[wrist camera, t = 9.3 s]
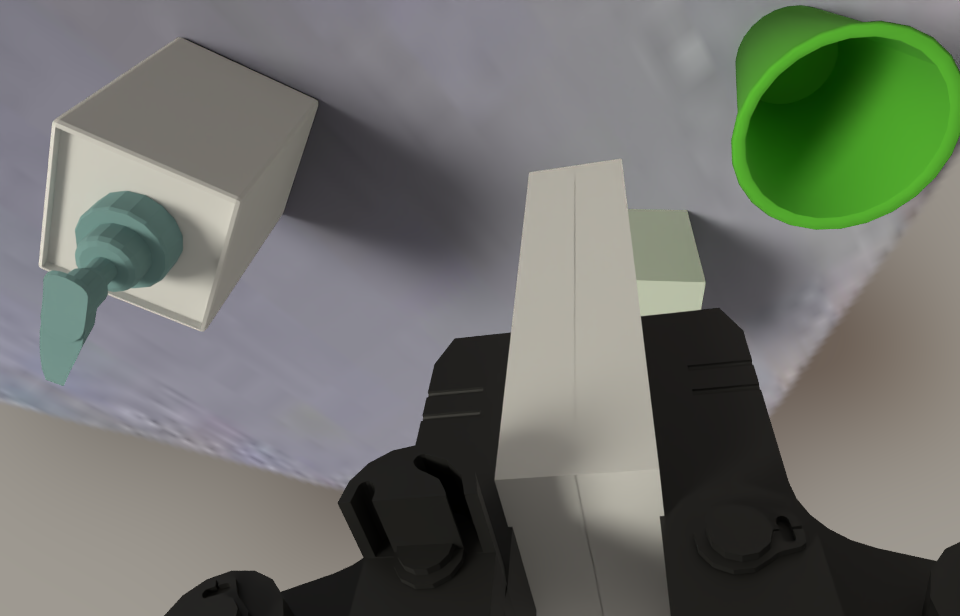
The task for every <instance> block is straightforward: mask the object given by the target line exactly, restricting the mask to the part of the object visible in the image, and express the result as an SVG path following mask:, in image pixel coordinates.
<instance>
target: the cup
mask: <svg viewBox="0 0 960 616" xmlns="http://www.w3.org/2000/svg"><path fill="white" fill-rule="evenodd" d="M736 86H737V108H738V114H737V117H736V122H735V126H734V130H733V135H732V139H731V145H732V164H733V167H734V170H735V173H736V176H737V180H738V183H739V185H740V186H741V188H742V189H743V191H744V192H745V193H746V195H747V196H748V198H749V199H750V201H751V202H752V203H753V204H755V205H756V206H757V207H758V208H760V209H761V210H762V211H763V212H765V213H766V214H767V215H768V216H770V217H773V218H775V219H777V220H780V221H782V222H784V223H787V224H789V225H793V226H799V227H804V228H810V229H816V230H817V229H842V228H846V227H850V226H855V225H859V224H863V223H867V222H870V221H872V220H874V219H877V218H879V217H881V216H884V215H886V214H888V213H891V212H893V211H894V210H896V209H897V208H899V207H900V206H902V205H903V204H905V203H906V202H908V201H909V200H911V199H912V198H914V197H916V196H917V195H918V194H919V193H920V192H921V191H922V190H923V189H924V188H925V187H926V186H927V185H928V184H929V183H930V182H931V181H932V180H933V179H934V178H935V177H936V176H937V175H938V173H939V172H940V170H941V169H942V168H943V166H944V165H945V163H946V162H947V161H948V159H949V158H950V156H951V155H952V153H953V150H954V148H955V145H956V143H957V141H958V138H959V136H960V71H959V69H958V67H957V65H956V63H955V61H954V59H953V57H952V55H951V54H950V53H949V52H948V51H947V50H946V49H945V48H944V47H942V46H941V45H940V44H939V43H938V42H937V41H936V40H935V39H934V38H933V37H931V36H929V35H927V34H925V33H923V32H921V31H919V30H917V29H915V28H913V27H911V26H907V25H901V24H896V23H890V22H884V21H873V22H861V21H858V20H854V19H851V18H847V17H844V16H841V15H837V14H834V13H830V12H827V11H824V10H820V9H817V8H813V7H808V6H802V5H799V6H787V7H784V8H781V9H778V10H775V11H773V12H771V13H769V14H768V15H766V16H764V17H762V18H761V19H760V20H759V21H758V22H757V23H756V24H754V25H753V26H752V27H751V29H750V30H749V31H748V32H747V34H746V35H745V36H744V38H743V40H742V42H741V44H740V46H739V49H738V52H737V57H736Z"/></svg>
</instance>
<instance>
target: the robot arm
mask: <svg viewBox="0 0 960 616" xmlns="http://www.w3.org/2000/svg"><path fill="white" fill-rule="evenodd" d="M428 394H429V397H427V399H426V403H425V407H424V411H423V421H421V424H420V428H419V432H418V437H417V441H416V445H415V446H411V447H407V448H402V449H398V450H393V451H391V452H389V453H387V454H385V455H383V456H382V457H380V458H378V459H376V460H374V461H372V462H370V463H368V464H367V465H366V466H365V467H364V468H363V469H362V470H361V471H360V472H359V473H358V474H357V475H356V476H355V477H353V478H352V479H351V480H350V481H349V483H348V485H347V487H346V488H345V490H344V492H343V494H342V496H341V498H340V500H339V501H338V505H339V507H340V509H341V511H342V513H343V515H344V517H345V519H346V521H347V523H348V525H349V528H350V530H351V532H352V534H353V536H354V538H355V540H356V542H357V544H358V547H359V549H360V551H361V553H362V555H363V557H364V558H363V559H361V560H360V561H358V562H357V563H355V564H354V565H352V566H350V567H348V568H345V569H343V570H341V571H339V572H336V573H334V574H331V575H329V576H325V577H323V578H320V579H317V580H314V581H311V582H308V583H305V584H302V585H299V586H297V587H294V588H291V589H288V590H285V591H282V592H280V591H279V589H278V587H277V586H276V584H275V583H274V581H273V579H271V578H269V577H267V576H265V575H263V574H261V573H258V572H256V571H230V572H227V573H224V574H221V575H218V576H215V577H213V578H210V579H207V580H205V581H204V582H202V583H201V584H199V585H198V586H196V587H195V588H193V589H192V590H190V591H189V592H188V593H186V594H185V595H183V596H182V597H181V598H180V599H179V600H178V601H177V603H175V605H174V606H173V607H172V608H171V609H170V610H169V611H168V612H167V613H166V614H165V615H164V616H960V542H959V543H957V544H955V545H953V546H951V547H948V548H946V549H945V550H944V552H943V553H942V555H941V556H940V558H939V559H938V560H937V561H933V560H929V559H924V558H919V557H915V556H910V555H906V554H901V553H896V552H892V551H888V550H883V549H878V548H875V547H871V546H868V545H865V544H862V543H858V542H855V541H852V540H850V539H847V538H846V537H844V536H842V535H840V534H838V533H836V532H834V531H832V530H830V529H828V528H827V527H826V526H824V525H823V524H822V523H820V522H819V521H818V520H816V519H815V518H814V517H812V516H811V515H810V514H809V513H808V512H807V510H806V509H805V508H804V507H803V506H802V505H801V503H800V502H799V501H798V500H797V499H796V496H795V494H794V492H793V490H792V488H791V486H790V484H789V481H788V478H787V475H786V471H785V468H784V465H783V461H782V458H781V455H780V451H779V448H778V445H777V442H776V438H775V435H774V432H773V428H772V425H771V422H770V418H769V415H768V412H767V408H766V405H765V402H764V398H763V395H762V392H761V390H760V388H759V382H758V379H757V375H756V372H755V369H754V365H752V359H751V355H750V352H749V349H748V345H747V342H746V339H745V335H744V332H743V330H742V329H741V328H740V327H739V326H738V325H737V324H735V323H734V322H733V321H732V320H731V319H730V318H729V317H728V316H727V315H726V314H725V313H724V312H723V311H722V310H721V309H720V308H713V309H704V310H694V311H685V312H676V313H666V314H657V315H648V316H641V315H640V307H639V298H638V290H637V282H636V274H635V265H634V257H633V249H632V241H631V232H630V224H629V216H628V208H627V199H626V191H625V183H624V175H623V166H622V159H616V160H609V161H602V162H596V163H589V164H582V165H576V166H569V167H563V168H556V169H549V170H543V171H536V172H529V179H528V188H527V197H526V206H525V214H524V223H523V232H522V241H521V250H520V259H519V267H518V276H517V285H516V294H515V303H514V312H513V320H512V329H511V333H503V334H493V335H484V336H474V337H465V338H456V339H454V340H453V341H452V343H451V344H450V345H449V347H448V348H447V349H446V350H445V352H444V353H443V354H442V355H441V357H440V358H439V359H438V360H437V362H436V363H435V365H434V369H433V373H432V377H431V382H430V386H429V390H428Z"/></svg>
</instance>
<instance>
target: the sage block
mask: <svg viewBox="0 0 960 616" xmlns="http://www.w3.org/2000/svg"><path fill="white" fill-rule="evenodd" d="M628 216H629V224H630V232H631V241H632V249H633V257H634V265H635V274H636V282H637V290H638V298H639V307H640V315H641V316H648V315H657V314H666V313H676V312H685V311H694V310H701V307H702V301H703V295H704V289H705V284H706V282H705V278H704V274H703V270H702V266H701V262H700V258H699V254H698V251H697V247H696V243H695V239H694V235H693V231H692V227H691V223H690V220H689V216H688V212H687V210H646V209H628Z"/></svg>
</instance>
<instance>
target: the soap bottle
mask: <svg viewBox="0 0 960 616" xmlns="http://www.w3.org/2000/svg"><path fill="white" fill-rule="evenodd" d="M317 108H318V101H317V100H316V99H314V98H312V97H309V96H307V95H305V94H303V93H301V92H298V91H296V90H294V89H292V88H290V87H288V86H285V85H283V84H281V83H279V82H277V81H275V80H272V79H270V78H268V77H266V76H264V75H261V74H259V73H257V72H255V71H253V70H251V69H248V68H246V67H244V66H242V65H240V64H238V63H235V62H233V61H231V60H229V59H227V58H224V57H222V56H220V55H218V54H216V53H214V52H211V51H209V50H207V49H205V48H203V47H201V46H198V45H196V44H194V43H192V42H190V41H188V40H185V39H183V38H176V39H175V40H173V41H172V42H170V43H169V44H167V45H166V46H164V47H163V48H161V49H160V50H158V51H157V52H155V53H154V54H152V55H151V56H149V57H148V58H146V59H145V60H143V61H142V62H140V63H139V64H137V65H136V66H134V67H133V68H131V69H130V70H128V71H127V72H125V73H124V74H122V75H121V76H119V77H118V78H116V79H115V80H113V81H112V82H110V83H109V84H107V85H106V86H104V87H103V88H101V89H100V90H98V91H97V92H95V93H94V94H92V95H91V96H89V97H88V98H86V99H85V100H83V101H82V102H80V103H79V104H77V105H76V106H74V107H73V108H71V109H70V110H68V111H67V112H65V113H64V114H62V115H61V116H59V117H58V118H56V119H55V120H54V121H53V123H52V131H51V141H50V152H49V162H48V173H47V183H46V194H45V204H44V215H43V225H42V236H41V246H40V257H39V266H40V267H41V268H42V269H44V270H47V271H49V272H48V273H47V274H46V275H45V277H44V279H43V282H44V285H43V301H42V310H41V327H40V357H41V364H42V370H43V373H44V376H45V378H46V380H48V381H51V382H54V383H56V384H59V385H62V386H64V384H65V381H66V379H67V377H68V375H69V372H70V370H71V368H72V366H73V364H74V363H75V361H76V359H77V357H78V354H79V352H80V350H81V348H82V346H83V344H84V342H85V341H86V339H87V337H88V335H89V334H90V332H91V330H92V328H93V326H94V323H95V317H96V311H97V308H98V306H99V305H100V304H101V303H102V302H103V301H104V300H105V299H106V297H107V295H110V296H112V297H115V298H117V299H120V300H122V301H125V302H128V303H130V304H133V305H135V306H138V307H140V308H143V309H145V310H148V311H150V312H153V313H155V314H158V315H160V316H163V317H166V318H168V319H171V320H173V321H176V322H178V323H181V324H183V325H186V326H188V327H191V328H193V329H196V330H198V331H205V330H206V329H207V328H208V326H209V325H210V323H211V322H212V320H213V319H214V317H215V316H216V314H217V313H218V311H219V310H220V308H221V307H222V305H223V304H224V302H225V301H226V299H227V298H228V296H229V294H230V293H231V291H232V290H233V288H234V287H235V285H236V284H237V282H238V281H239V279H240V278H241V276H242V275H243V273H244V272H245V270H246V269H247V267H248V266H249V264H250V263H251V261H252V260H253V258H254V257H255V255H256V254H257V252H258V251H259V249H260V248H261V246H262V245H263V243H264V242H265V240H266V239H267V237H268V236H269V234H270V233H271V231H272V230H273V228H274V227H275V225H276V223H277V222H278V220H279V219H280V217H281V216H282V214H283V212H284V209H285V206H286V203H287V200H288V197H289V194H290V191H291V188H292V185H293V182H294V179H295V175H296V172H297V169H298V166H299V163H300V160H301V157H302V154H303V151H304V148H305V145H306V142H307V139H308V136H309V133H310V130H311V127H312V124H313V120H314V117H315V114H316V111H317Z"/></svg>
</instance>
